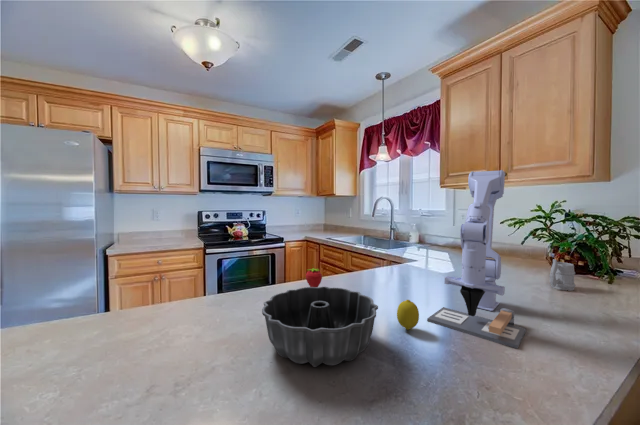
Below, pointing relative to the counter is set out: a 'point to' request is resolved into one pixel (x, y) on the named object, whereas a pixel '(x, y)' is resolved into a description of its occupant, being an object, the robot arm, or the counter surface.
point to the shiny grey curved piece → (511, 321)
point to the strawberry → (313, 277)
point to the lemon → (407, 314)
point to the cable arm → (501, 321)
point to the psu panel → (477, 326)
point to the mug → (562, 276)
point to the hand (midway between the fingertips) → (471, 314)
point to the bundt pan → (319, 324)
